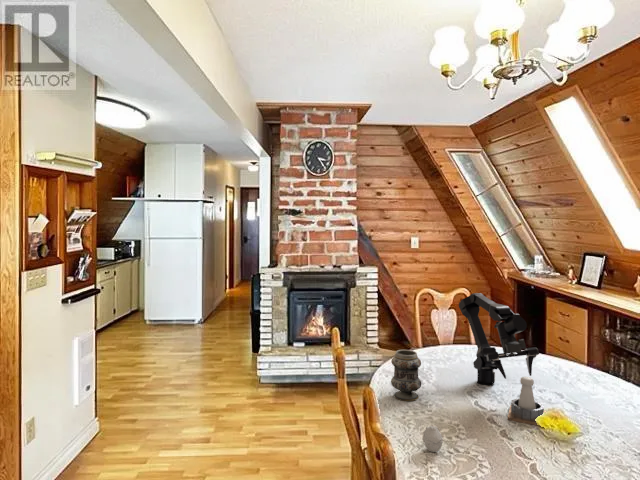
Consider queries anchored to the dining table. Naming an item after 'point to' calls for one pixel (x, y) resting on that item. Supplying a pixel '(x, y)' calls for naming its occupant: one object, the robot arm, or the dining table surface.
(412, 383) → the apothecary jar
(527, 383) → the salt shaker
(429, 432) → the grey cracked egg
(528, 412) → the cup holder
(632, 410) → the dining table surface
